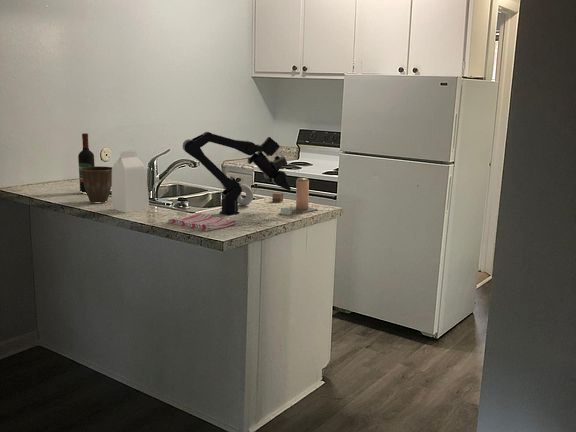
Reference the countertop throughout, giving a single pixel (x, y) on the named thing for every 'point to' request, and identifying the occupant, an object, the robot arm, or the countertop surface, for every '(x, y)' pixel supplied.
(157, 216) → the countertop surface
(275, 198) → the walnut cube
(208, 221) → the dish towel
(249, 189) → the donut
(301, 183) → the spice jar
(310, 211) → the slate coaster
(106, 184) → the plant pot
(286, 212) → the grey box
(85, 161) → the wine bottle
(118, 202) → the milk
